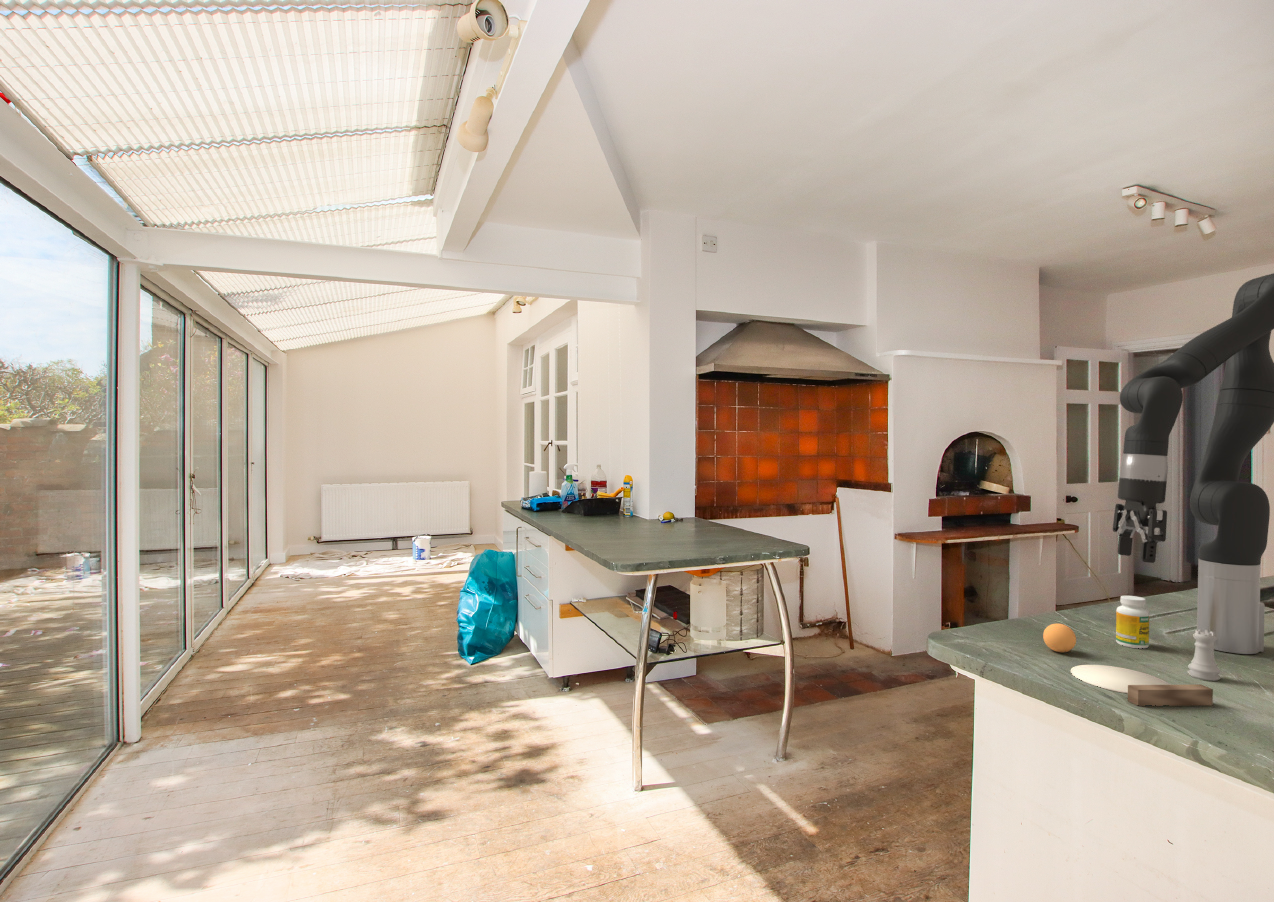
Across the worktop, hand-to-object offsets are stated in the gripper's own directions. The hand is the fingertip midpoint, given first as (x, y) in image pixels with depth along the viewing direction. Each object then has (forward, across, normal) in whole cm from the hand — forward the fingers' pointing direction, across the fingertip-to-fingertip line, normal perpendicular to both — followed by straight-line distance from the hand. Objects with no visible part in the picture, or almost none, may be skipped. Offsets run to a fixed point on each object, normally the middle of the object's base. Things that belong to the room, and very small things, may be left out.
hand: (1135, 558), depth 131 cm
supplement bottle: (+18, +1, -1) cm, 18 cm away
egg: (+16, -7, +15) cm, 23 cm away
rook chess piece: (+18, -17, -4) cm, 25 cm away
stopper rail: (+18, -32, +9) cm, 38 cm away
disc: (+18, -22, +12) cm, 31 cm away
